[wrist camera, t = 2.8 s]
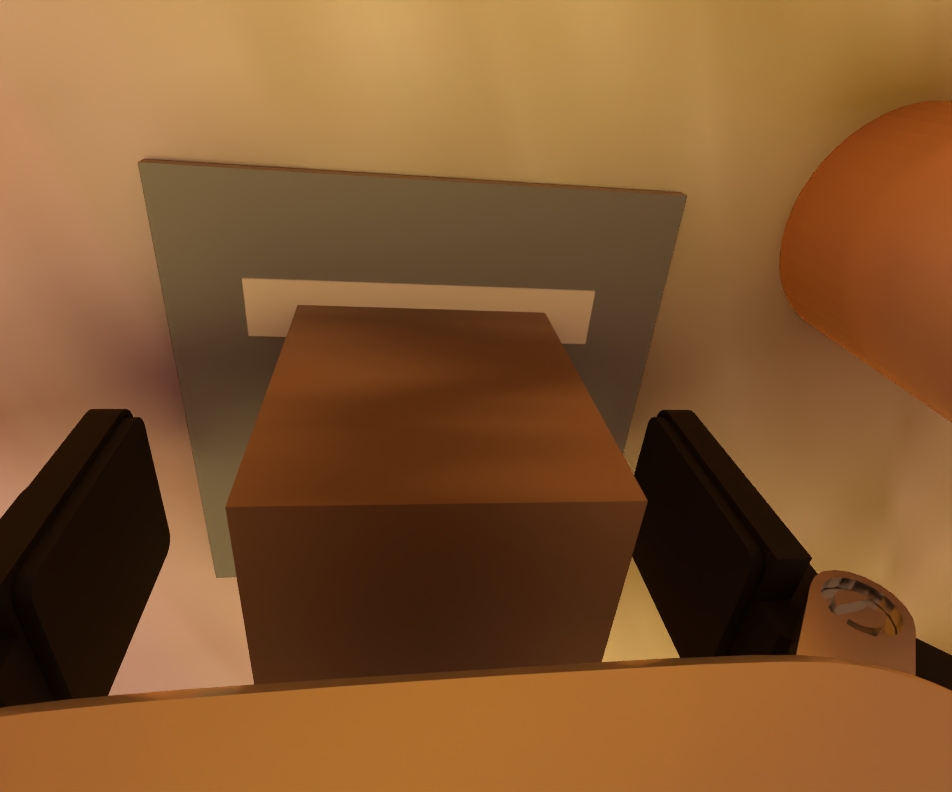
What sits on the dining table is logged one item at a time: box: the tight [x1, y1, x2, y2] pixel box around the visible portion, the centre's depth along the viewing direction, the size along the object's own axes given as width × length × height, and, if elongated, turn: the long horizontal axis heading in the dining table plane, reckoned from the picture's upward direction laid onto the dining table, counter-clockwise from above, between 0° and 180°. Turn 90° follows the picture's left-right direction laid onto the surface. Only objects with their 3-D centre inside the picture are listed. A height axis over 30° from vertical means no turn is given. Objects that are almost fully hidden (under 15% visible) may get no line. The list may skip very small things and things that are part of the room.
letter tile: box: [138, 159, 687, 578], centre depth 14 cm, size 10×10×1 cm
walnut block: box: [225, 305, 648, 685], centre depth 11 cm, size 5×5×6 cm
